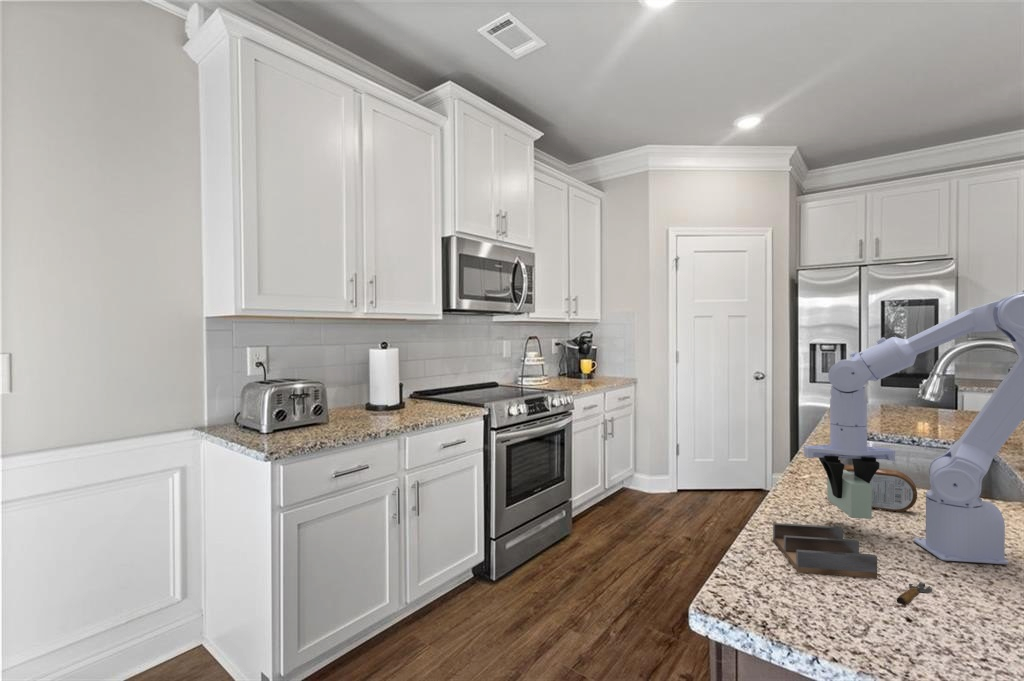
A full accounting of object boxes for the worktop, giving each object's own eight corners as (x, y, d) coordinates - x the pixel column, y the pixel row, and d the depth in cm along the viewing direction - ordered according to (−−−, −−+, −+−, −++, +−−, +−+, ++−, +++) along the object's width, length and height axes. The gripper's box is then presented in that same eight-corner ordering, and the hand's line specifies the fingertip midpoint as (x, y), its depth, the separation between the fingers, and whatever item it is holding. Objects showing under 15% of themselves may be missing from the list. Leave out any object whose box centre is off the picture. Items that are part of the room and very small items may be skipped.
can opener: (905, 607, 69) (905, 599, 69) (885, 600, 71) (885, 591, 71) (937, 591, 73) (937, 583, 73) (918, 584, 75) (918, 576, 75)
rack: (841, 545, 88) (841, 526, 88) (877, 578, 76) (877, 556, 76) (773, 540, 90) (773, 522, 90) (798, 572, 78) (798, 551, 78)
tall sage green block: (845, 500, 99) (845, 469, 98) (871, 518, 89) (871, 484, 89) (827, 499, 99) (827, 469, 99) (851, 517, 89) (851, 484, 89)
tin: (916, 512, 104) (916, 471, 104) (918, 516, 101) (918, 475, 101) (830, 499, 112) (830, 461, 112) (830, 503, 109) (830, 465, 109)
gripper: (880, 421, 96) (880, 492, 96) (797, 419, 99) (798, 488, 99) (901, 428, 89) (901, 504, 89) (812, 426, 92) (812, 500, 92)
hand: (848, 497), depth 94 cm, fingers closed on tall sage green block, 3 cm apart
